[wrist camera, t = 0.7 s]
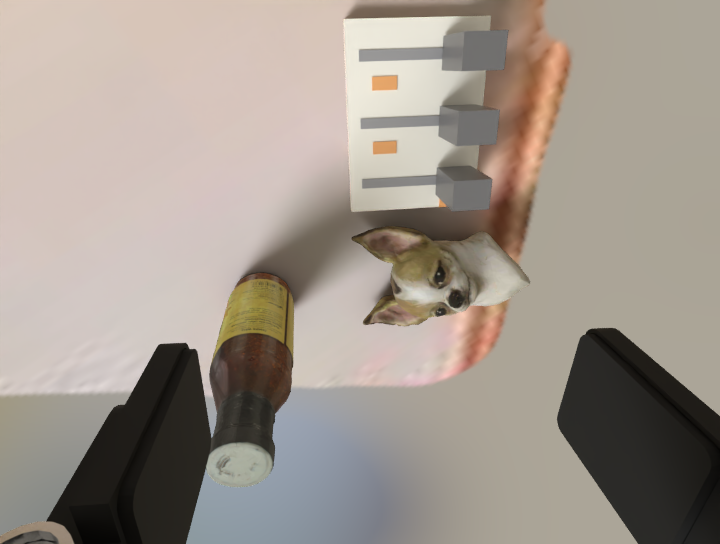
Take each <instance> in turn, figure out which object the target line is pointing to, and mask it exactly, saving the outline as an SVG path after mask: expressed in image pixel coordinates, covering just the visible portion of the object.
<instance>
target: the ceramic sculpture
mask: <svg viewBox="0 0 720 544" xmlns="http://www.w3.org/2000/svg"><path fill="white" fill-rule="evenodd" d="M352 240H353V241H355V242H357V243H359V244H361V245H362V246H363V247H364V248H366V249H367V250H368V251H369V252H370V253H371V254H373V255H374V256H375V257H377V258H378V259H380V260H382V261H385V262H388V263H393V267H392V271H391V279H390V282H391V285H392V289H393V293H394V295H388V296H385V297H383V298H381V299H380V301H379V302H378V303H377V304H376V306H375V307H374V308H373V310H372V311H371V313H370V314H369V315H368V316H367V317H366V318H365V319H364V321H363V325H368V324H374V323H384V324H389V325H395V324H397V325H398V326H409V325H412V324H415V325H418V324H420V323H422V322H423V321H425V320H427V319H428V318H429V317H434V316H437V317H439V316H442V315H453V314H456V313H458V312H460V311H465V310H466V309H467V308H468V307H469V306H471V305H477V306H490V305H496V304H499V303H501V302H503V301H505V300H508V299H509V298H511V297H512V296H513V295H515V294H516V293H517V292H519V291H520V290H521V289H523V288H524V287H527V286H529V284H530V281H529V278H528V277H527V276H526V274H525V273H524V272H523V271H522V269H521V268H520V266H519V265H518V264H517V263H516V262H515V261H514V260H513V259H512V258H511V257H510V256H508V255H507V254H506V253H505V252H504V251H503V250H502V249H501V248H500V246H499V245H498V244H497V243H496V242H495V241H494V240H493V238H492V237H491V236H490V235H489V234H488V233H486V232H483V231H480V232H477V233H475V234H474V235H472V236H470V237H469V238H467V239H465V240H462V241H447V240H444V241H432V240H431V239H430V238H428V237H427V236H426V235H425V234H423V233H422V232H420V231H417V230H415V229H411V228H406V227H398V226H395V227H393V226H385V227H381V228H375V229H372V230H368V231H366V232H364V233H361V234H359V235H356V236H354V237H352Z"/></svg>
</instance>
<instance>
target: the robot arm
mask: <svg viewBox="0 0 720 544" xmlns="http://www.w3.org/2000/svg"><path fill="white" fill-rule="evenodd" d="M557 421H558V426H559V429H560V431H561V432H562V434H563V435H564V437H565V438H566V440H567V441H568V442H569V444H570V445H571V447H572V448H573V450H574V451H575V453H576V454H577V455H578V457H579V459H580V460H581V461H582V463H583V464H584V466H585V467H586V469H587V470H588V472H589V473H590V474H591V476H592V477H593V479H594V480H595V482H596V483H597V484H598V486H599V488H600V489H601V490H602V492H603V493H604V495H605V496H606V498H607V499H608V501H609V502H610V503H611V505H612V506H613V508H614V509H615V511H616V512H617V513H618V515H619V517H620V518H621V519H622V521H623V522H624V524H625V525H626V527H627V528H628V530H629V531H630V532H631V534H632V535H633V537H634V538H635V540H636V541H637V543H638V544H720V416H719V415H718V414H717V413H715V412H714V411H713V410H712V409H710V408H709V407H708V406H707V405H706V404H705V403H704V402H702V401H701V400H700V399H699V398H698V397H696V396H695V395H694V394H693V393H692V392H691V391H689V390H688V389H687V388H686V387H685V386H684V385H682V384H681V383H680V382H679V381H678V380H676V379H675V378H674V377H673V376H672V375H671V374H669V373H668V372H667V371H666V370H665V369H664V368H662V367H661V366H660V365H659V364H658V363H656V362H655V361H654V360H653V359H652V358H651V357H649V356H648V355H647V354H646V353H645V352H643V351H642V350H641V349H640V348H639V347H638V346H636V345H635V344H634V343H633V342H632V341H630V340H629V339H628V338H627V337H626V336H624V335H623V334H622V333H621V332H620V331H618V330H617V329H615V328H597V329H590V330H588V331H587V332H586V334H585V335H583V336H582V337H581V338H580V341H579V344H578V347H577V351H576V354H575V358H574V361H573V364H572V368H571V371H570V375H569V378H568V381H567V385H566V389H565V392H564V395H563V399H562V402H561V405H560V409H559V412H558V417H557ZM210 449H211V433H210V427H209V421H208V415H207V408H206V402H205V396H204V390H203V384H202V378H201V372H200V365H199V359H198V354H197V351H196V349H189V347H188V345H187V344H186V343H172V344H160V345H158V347H157V348H156V350H155V352H154V354H153V355H152V357H151V359H150V361H149V363H148V364H147V366H146V368H145V370H144V372H143V373H142V375H141V377H140V379H139V381H138V382H137V384H136V386H135V388H134V390H133V391H132V393H131V395H130V397H129V399H128V400H127V402H126V404H125V405H118V406H116V407H114V408H113V410H112V411H111V412H110V414H109V415H108V417H107V419H106V420H105V422H104V424H103V426H102V427H101V429H100V431H99V432H98V434H97V436H96V438H95V439H94V441H93V443H92V444H91V446H90V448H89V449H88V451H87V453H86V454H85V456H84V458H83V460H82V461H81V463H80V465H79V466H78V468H77V470H76V471H75V473H74V475H73V477H72V478H71V480H70V482H69V484H68V485H67V487H66V488H65V490H64V492H63V494H62V495H61V497H60V499H59V501H58V502H57V504H56V505H55V507H54V509H53V511H52V512H51V514H50V516H49V517H48V519H47V521H46V522H35V523H31V524H27V525H23V526H20V527H18V528H16V529H13V530H11V531H9V532H7V533H5V534H3V535H1V536H0V544H186V541H187V537H188V533H189V530H190V526H191V522H192V518H193V514H194V511H195V507H196V503H197V499H198V496H199V492H200V488H201V484H202V481H203V476H204V473H205V469H206V465H207V462H208V458H209V454H210Z"/></svg>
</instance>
